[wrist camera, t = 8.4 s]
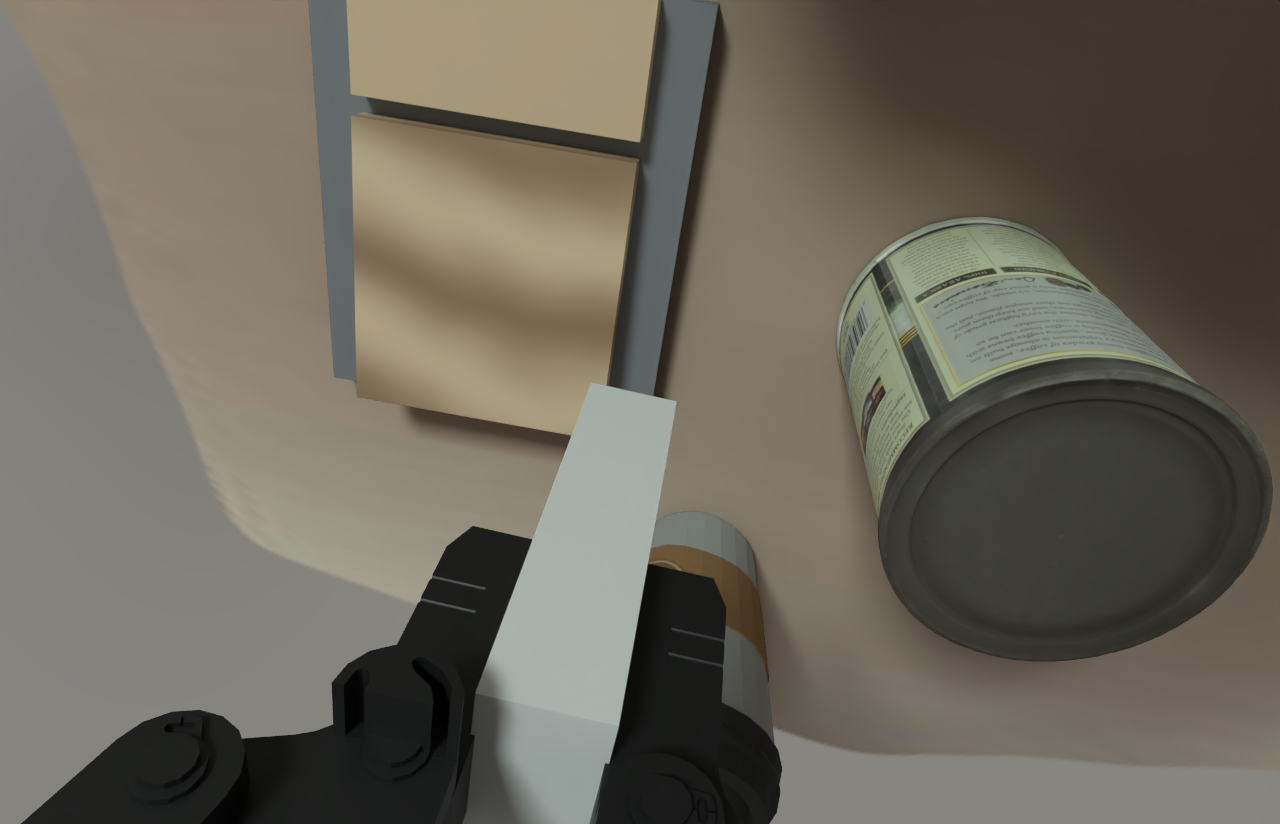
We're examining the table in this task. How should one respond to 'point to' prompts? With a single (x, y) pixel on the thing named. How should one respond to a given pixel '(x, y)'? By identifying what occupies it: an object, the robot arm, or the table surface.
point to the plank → (485, 270)
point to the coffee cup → (732, 656)
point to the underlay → (524, 117)
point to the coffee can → (1038, 450)
